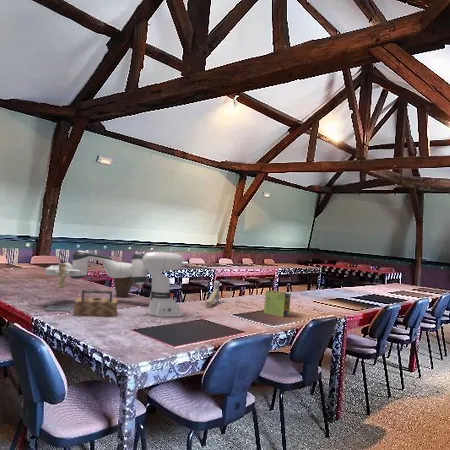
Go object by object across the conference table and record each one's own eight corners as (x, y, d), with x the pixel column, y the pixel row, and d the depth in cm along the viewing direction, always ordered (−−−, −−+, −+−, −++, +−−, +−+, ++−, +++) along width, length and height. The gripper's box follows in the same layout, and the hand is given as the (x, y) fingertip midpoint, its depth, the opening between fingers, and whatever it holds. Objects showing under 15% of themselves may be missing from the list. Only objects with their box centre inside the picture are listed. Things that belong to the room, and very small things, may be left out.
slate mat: (72, 306, 267) (72, 305, 267) (70, 311, 254) (70, 310, 254) (48, 306, 264) (49, 305, 264) (45, 310, 250) (45, 309, 250)
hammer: (212, 295, 299) (220, 280, 328) (205, 294, 300) (214, 280, 329) (211, 315, 302) (219, 299, 331) (204, 314, 303) (213, 299, 332)
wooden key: (64, 287, 261) (66, 263, 261) (63, 288, 257) (65, 264, 258) (57, 287, 260) (59, 263, 260) (56, 288, 257) (59, 263, 257)
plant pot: (110, 294, 322) (112, 273, 322) (129, 294, 328) (131, 274, 328) (113, 298, 309) (115, 276, 309) (134, 298, 315) (135, 276, 315)
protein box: (283, 317, 289) (285, 294, 290) (263, 313, 298) (265, 291, 298) (289, 315, 298) (291, 293, 299) (269, 311, 306) (271, 290, 307)
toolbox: (116, 311, 264) (118, 288, 264) (116, 316, 251) (118, 292, 251) (76, 310, 258) (78, 286, 258) (73, 315, 245) (75, 290, 245)
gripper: (80, 276, 274) (79, 279, 260) (47, 275, 269) (43, 277, 255) (81, 266, 274) (79, 269, 261) (48, 265, 269) (44, 267, 255)
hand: (61, 273), depth 258 cm, fingers closed on wooden key, 4 cm apart
